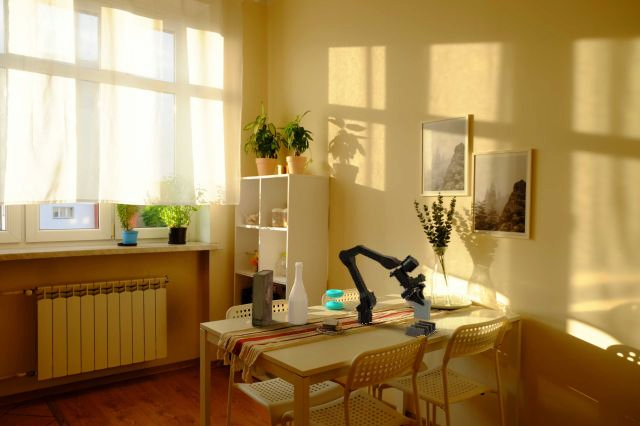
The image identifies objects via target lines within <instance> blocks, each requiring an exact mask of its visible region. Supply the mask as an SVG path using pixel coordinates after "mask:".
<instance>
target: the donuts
mask: <svg viewBox="0 0 640 426" xmlns="http://www.w3.org/2000/svg"><path fill="white" fill-rule="evenodd" d="M325 294H326V296H327V297H329V298H330V299H331V298H332V299H333V298H334V299H339V298H342V297H343V296H344V294H345V293H344V291H343V290H341V289H328V290H326V292H325ZM325 308H326V309H328V310H334V311H337V310H338V311H339V310H342V309H343V308H344V304H343V302H341V301H337V300H330V301H328V302H326V304H325Z"/></svg>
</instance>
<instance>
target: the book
mask: <svg viewBox="0 0 640 426" xmlns="http://www.w3.org/2000/svg"><path fill="white" fill-rule="evenodd" d="M273 289H274V270H272V269H262V270H260V271H258V272H255V273H253V274H252V297H251V298H252V299H251V300H252V301H251V302H252V303H251V304H252V305H251V308H252V309H251V326H260V327H264V325H265V324H266V325H267V324H269V323H270V322H271V321H272V320H273V297H274V296H273V295H274V294H273V292H274V290H273ZM266 325H265V326H266Z"/></svg>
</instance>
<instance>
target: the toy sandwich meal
mask: <svg viewBox="0 0 640 426" xmlns="http://www.w3.org/2000/svg"><path fill="white" fill-rule="evenodd" d="M316 331H317V332H318V333H319V332H320V334H322V333H323V334H322V335H328V334H334V335H339V334H338V333H340V334H341V333H343V331H344V329H343V323H342V322H340V320H339V319H336V318H330V317H329V318H323V321H322V323H321V326H318V327H316Z"/></svg>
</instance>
